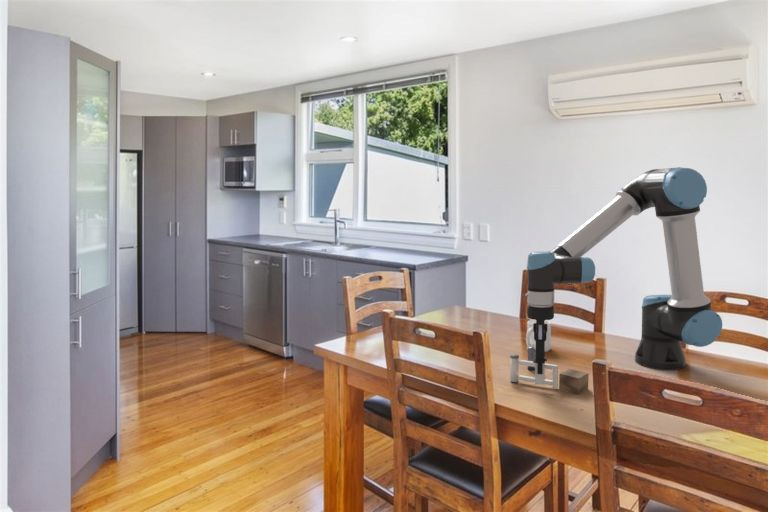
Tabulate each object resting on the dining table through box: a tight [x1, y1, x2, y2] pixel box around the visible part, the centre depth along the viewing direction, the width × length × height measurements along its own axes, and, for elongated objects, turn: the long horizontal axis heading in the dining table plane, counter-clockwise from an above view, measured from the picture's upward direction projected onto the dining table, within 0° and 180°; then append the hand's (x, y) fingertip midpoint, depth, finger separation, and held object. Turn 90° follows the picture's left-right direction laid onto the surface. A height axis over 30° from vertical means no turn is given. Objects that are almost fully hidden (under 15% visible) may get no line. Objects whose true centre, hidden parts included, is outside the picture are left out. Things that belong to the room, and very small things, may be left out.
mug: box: [525, 319, 552, 353], centre depth 199 cm, size 12×8×10 cm
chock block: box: [558, 368, 589, 396], centre depth 160 cm, size 6×6×5 cm
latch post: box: [526, 347, 536, 372], centre depth 178 cm, size 3×3×8 cm
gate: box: [509, 353, 559, 389], centre depth 164 cm, size 14×3×8 cm, turn 58°
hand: (539, 383), depth 160 cm, fingers closed
